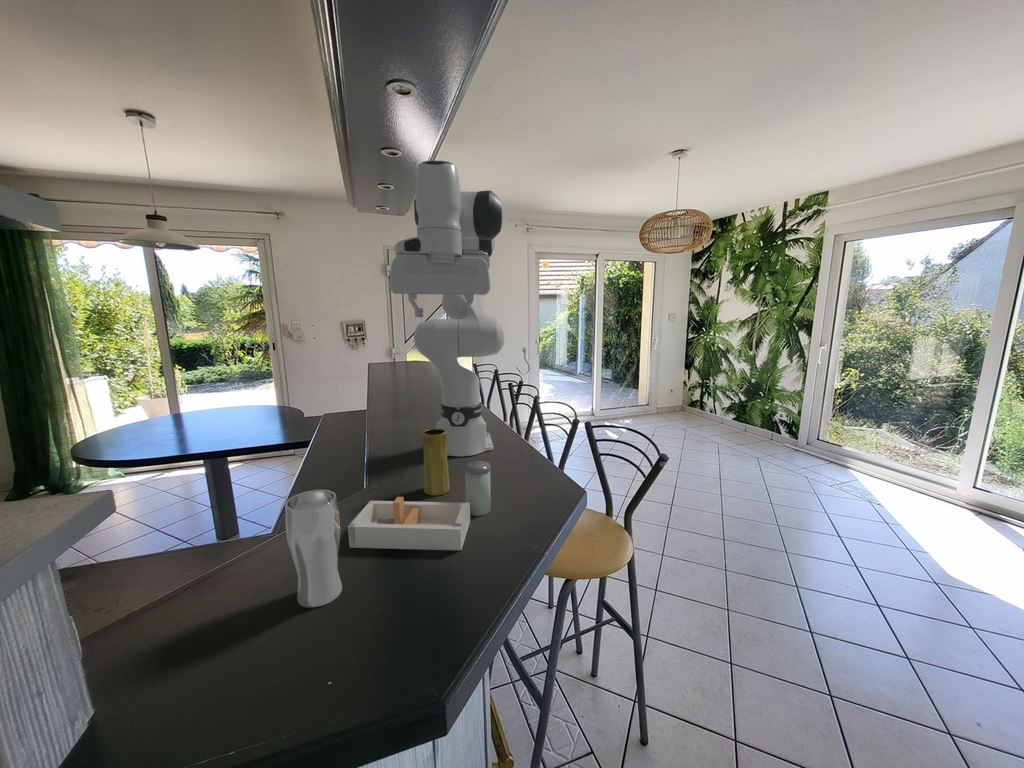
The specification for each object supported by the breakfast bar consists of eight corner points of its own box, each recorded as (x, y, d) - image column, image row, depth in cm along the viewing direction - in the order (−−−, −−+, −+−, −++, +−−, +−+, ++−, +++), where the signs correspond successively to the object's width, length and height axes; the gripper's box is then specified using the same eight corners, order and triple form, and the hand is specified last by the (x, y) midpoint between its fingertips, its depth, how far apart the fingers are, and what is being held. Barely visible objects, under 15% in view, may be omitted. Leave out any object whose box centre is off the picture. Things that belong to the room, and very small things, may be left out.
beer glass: (309, 578, 64) (300, 488, 62) (353, 578, 64) (345, 489, 61) (283, 610, 57) (272, 510, 55) (332, 611, 57) (323, 511, 55)
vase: (444, 497, 92) (442, 436, 90) (419, 494, 93) (416, 434, 91) (453, 485, 98) (451, 428, 95) (429, 483, 99) (427, 427, 97)
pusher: (385, 517, 80) (383, 491, 80) (419, 518, 80) (418, 491, 79) (371, 536, 74) (369, 508, 73) (408, 537, 73) (407, 509, 72)
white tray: (371, 519, 82) (370, 498, 82) (470, 521, 81) (469, 500, 81) (349, 547, 73) (347, 524, 72) (461, 550, 71) (460, 526, 71)
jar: (467, 503, 89) (466, 460, 87) (492, 504, 89) (491, 461, 87) (463, 515, 84) (462, 470, 82) (489, 516, 83) (489, 470, 82)
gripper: (484, 252, 89) (485, 316, 91) (386, 247, 82) (390, 317, 84) (494, 247, 83) (494, 316, 85) (389, 241, 76) (393, 317, 78)
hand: (442, 317), depth 84 cm, fingers open, 8 cm apart
